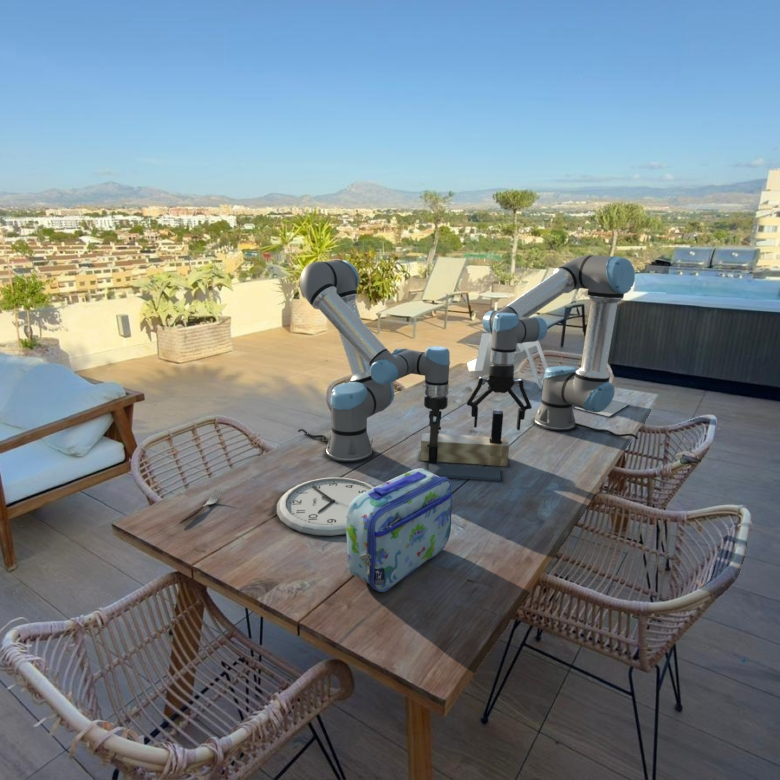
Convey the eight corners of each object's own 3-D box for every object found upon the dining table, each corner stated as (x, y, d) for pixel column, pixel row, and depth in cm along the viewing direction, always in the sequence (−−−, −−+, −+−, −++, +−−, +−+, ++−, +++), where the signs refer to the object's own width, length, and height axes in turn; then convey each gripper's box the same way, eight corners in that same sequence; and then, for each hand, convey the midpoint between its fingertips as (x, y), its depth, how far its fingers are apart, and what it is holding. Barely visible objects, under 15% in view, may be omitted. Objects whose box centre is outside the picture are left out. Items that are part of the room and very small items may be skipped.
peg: (498, 459, 173) (502, 410, 168) (499, 463, 170) (503, 414, 165) (489, 458, 174) (493, 410, 168) (489, 462, 171) (493, 413, 166)
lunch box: (374, 604, 105) (375, 512, 99) (340, 579, 113) (339, 492, 106) (455, 552, 123) (460, 471, 117) (421, 533, 130) (424, 456, 124)
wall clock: (392, 527, 129) (268, 531, 127) (391, 533, 130) (269, 537, 127) (383, 473, 158) (282, 475, 155) (383, 478, 158) (282, 480, 156)
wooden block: (505, 457, 175) (507, 437, 173) (507, 466, 168) (509, 446, 166) (421, 451, 178) (422, 432, 176) (420, 460, 171) (421, 440, 169)
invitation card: (608, 416, 214) (573, 407, 224) (608, 416, 214) (573, 408, 224) (628, 404, 229) (594, 396, 238) (628, 405, 229) (594, 397, 238)
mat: (498, 471, 165) (499, 468, 164) (500, 481, 158) (501, 478, 158) (429, 466, 167) (429, 463, 167) (428, 476, 160) (428, 473, 160)
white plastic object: (487, 418, 267) (468, 395, 242) (469, 346, 289) (449, 318, 264) (558, 394, 255) (545, 368, 230) (533, 321, 277) (518, 289, 252)
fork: (175, 524, 132) (174, 517, 132) (215, 495, 146) (215, 489, 146) (183, 526, 131) (182, 519, 131) (223, 497, 146) (222, 490, 145)
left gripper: (426, 383, 180) (424, 441, 186) (422, 406, 156) (419, 471, 163) (448, 384, 179) (445, 442, 185) (447, 408, 156) (444, 473, 162)
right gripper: (541, 362, 164) (534, 425, 171) (461, 358, 167) (457, 420, 173) (545, 368, 157) (537, 434, 163) (461, 364, 160) (457, 429, 166)
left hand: (433, 456), depth 174 cm, fingers open, 12 cm apart
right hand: (496, 427), depth 168 cm, fingers open, 13 cm apart
